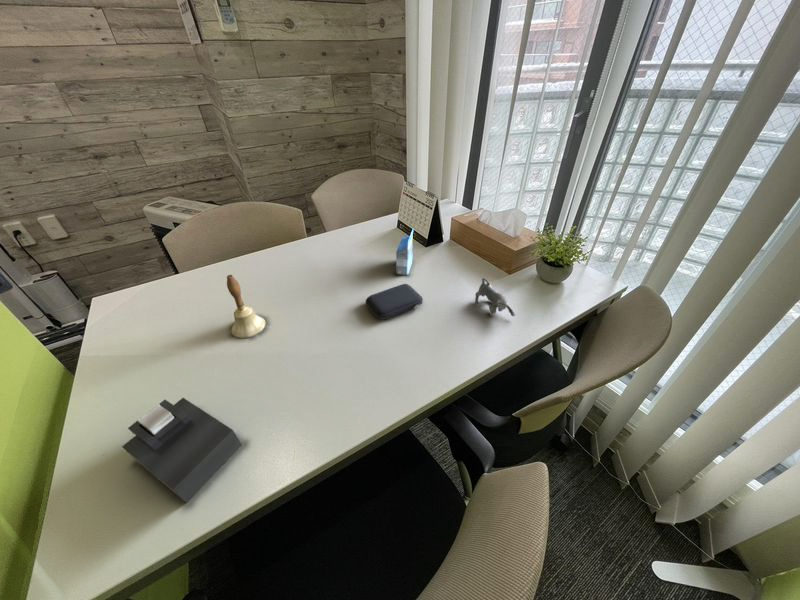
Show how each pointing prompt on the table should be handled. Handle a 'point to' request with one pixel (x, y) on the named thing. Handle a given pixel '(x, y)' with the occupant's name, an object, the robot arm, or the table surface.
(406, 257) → the blue white carton
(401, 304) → the carrying case
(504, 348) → the table surface
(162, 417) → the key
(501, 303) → the dog figurine
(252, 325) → the hand bell
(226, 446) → the black square panel
